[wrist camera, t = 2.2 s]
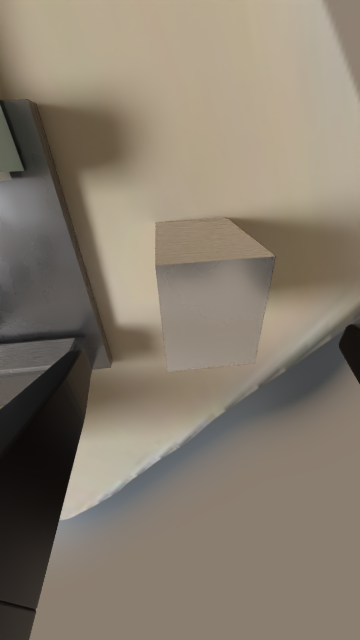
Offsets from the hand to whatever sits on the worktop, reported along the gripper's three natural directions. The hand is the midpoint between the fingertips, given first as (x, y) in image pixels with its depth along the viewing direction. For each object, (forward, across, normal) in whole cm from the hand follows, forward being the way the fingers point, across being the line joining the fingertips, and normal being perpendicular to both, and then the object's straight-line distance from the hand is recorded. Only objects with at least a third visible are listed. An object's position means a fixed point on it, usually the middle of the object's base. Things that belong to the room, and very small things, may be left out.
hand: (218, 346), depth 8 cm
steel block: (+8, 0, 0) cm, 8 cm away
